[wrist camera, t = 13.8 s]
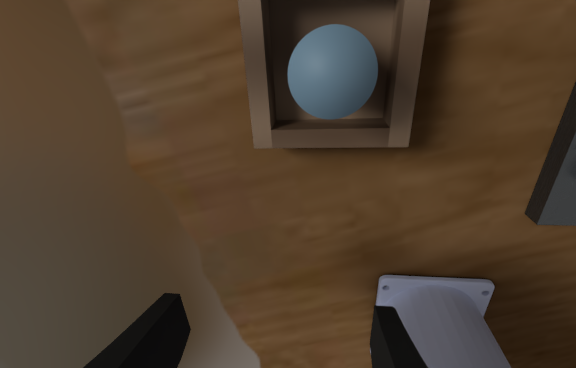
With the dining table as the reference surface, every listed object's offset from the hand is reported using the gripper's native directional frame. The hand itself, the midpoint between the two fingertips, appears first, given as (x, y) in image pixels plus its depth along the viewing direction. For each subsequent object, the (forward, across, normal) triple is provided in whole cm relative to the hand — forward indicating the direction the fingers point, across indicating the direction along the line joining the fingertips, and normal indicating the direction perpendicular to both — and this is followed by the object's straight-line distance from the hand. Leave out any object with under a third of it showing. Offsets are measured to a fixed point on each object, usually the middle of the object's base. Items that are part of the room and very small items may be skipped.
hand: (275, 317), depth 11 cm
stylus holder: (+10, -2, -8) cm, 13 cm away
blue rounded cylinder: (+9, -2, -8) cm, 12 cm away
